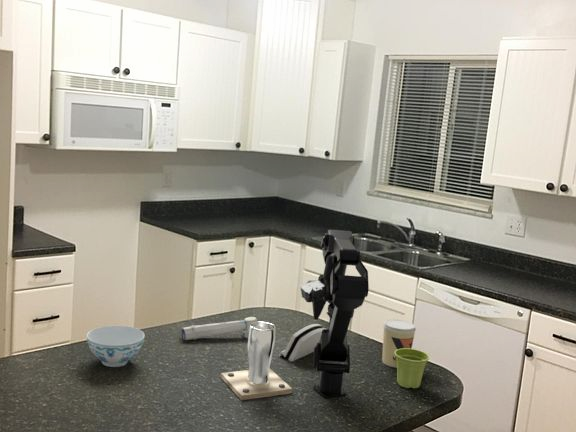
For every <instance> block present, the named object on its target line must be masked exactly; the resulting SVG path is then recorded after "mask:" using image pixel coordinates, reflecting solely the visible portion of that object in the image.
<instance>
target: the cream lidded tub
mask: <svg viewBox="0 0 576 432" xmlns="http://www.w3.org/2000/svg"><path fill="white" fill-rule="evenodd" d="M415 332H416V326H415V324H413V323H412V322H409V321H407V320H402V319H387V320H386V321H384V323H383V335H382V336H383V337H382V355H381V356H382V358H381V359H382V360H381V361H382V363H383V364H384V365H386V366H388V367H391V368H395V369H397V360H396V355H395V351H396V350H397V349H402V348H409V349H413V344H414V339H415V334H416V333H415Z"/></svg>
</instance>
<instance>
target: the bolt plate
mask: <svg viewBox="0 0 576 432" xmlns="http://www.w3.org/2000/svg"><path fill="white" fill-rule="evenodd" d="M248 371H249V369H244V370H236V371H228V372H221V373H220V378H221V380H222V381H223V382H224V383H225V384H226V385H227V386H228V388H230V389H231V390H232V392H233V393H234V394H235V395H236V396H237V397H238V398H239V399H240V400H241V401H247V400H253V399H260V398H266V397H268V398H269V397H275V396H282V395H289V394H293V388H292V386H290V385H289V384H288V383H287V382H285V381H284V380H283V378H281V377H280V376H279V375H278V374H277V373H275V371H274V370H272V369H271V368H270V367H269V377H270V383H269V384H268V385H265V386H254V385H251V384H249V383H247V381H246V379H247V375H248Z"/></svg>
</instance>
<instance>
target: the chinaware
mask: <svg viewBox="0 0 576 432" xmlns="http://www.w3.org/2000/svg"><path fill="white" fill-rule="evenodd" d="M145 338H146V337H145V332H144V331H142V330H141V329H139V328H136V327H133V326H128V325H105V326H104V325H103V326H99V327H96V328H93V329H91V330H90V331H88V332H87V333H86V341H87V344H88V345H87V346H89V349H90V351H91V353H92V354H93V355H94V356H95V357H96V358H97V360H100V361H101V364H102V365H103V366H106V367H108V368H109V367H110V368H120V367H124V366H125V365H127V364H128V361H130V360H131V359H133V358H134V357H135V356H136V355H137V354H138V352H139V351H140V350H141V347H142V346H143V344H144V341H145Z"/></svg>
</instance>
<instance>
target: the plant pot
mask: <svg viewBox="0 0 576 432" xmlns="http://www.w3.org/2000/svg"><path fill="white" fill-rule="evenodd" d="M395 355H396V360H397V368H396V376H397V377H396V382H397V384H398V386H400V387H402V388H406V389H410V388H412V389H418V388H419V387H420V386H421V383H422V380H423V375H424V371H425V368H426V365H427V364H428V361H429V360H430V355H429V354H428V353H426V352H425V351H422V350H419V349H416V348H415V349H414V348H412V349H409V348H402V349H397V350H396V351H395Z"/></svg>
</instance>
